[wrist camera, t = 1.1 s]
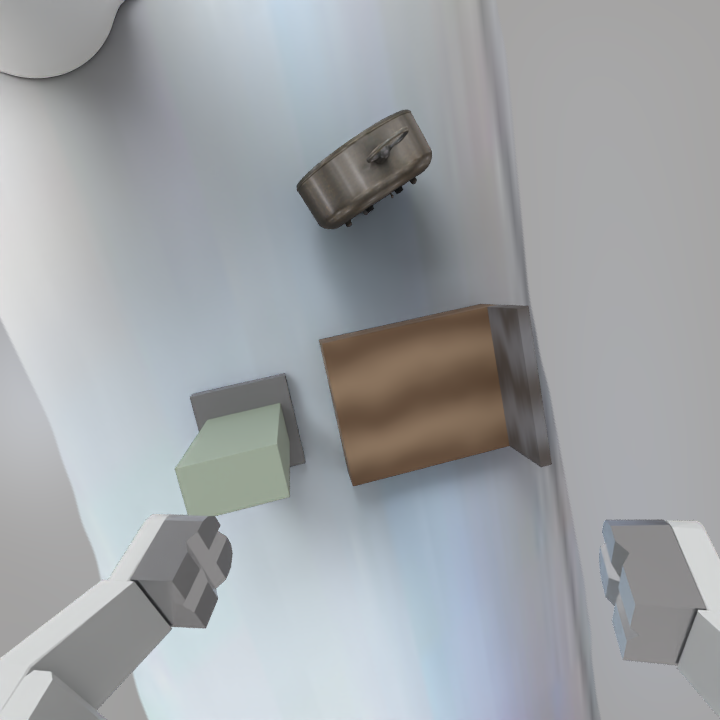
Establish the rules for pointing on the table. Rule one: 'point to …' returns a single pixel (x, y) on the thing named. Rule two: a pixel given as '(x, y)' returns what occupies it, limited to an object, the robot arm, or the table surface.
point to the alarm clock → (366, 170)
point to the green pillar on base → (240, 447)
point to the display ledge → (436, 390)
